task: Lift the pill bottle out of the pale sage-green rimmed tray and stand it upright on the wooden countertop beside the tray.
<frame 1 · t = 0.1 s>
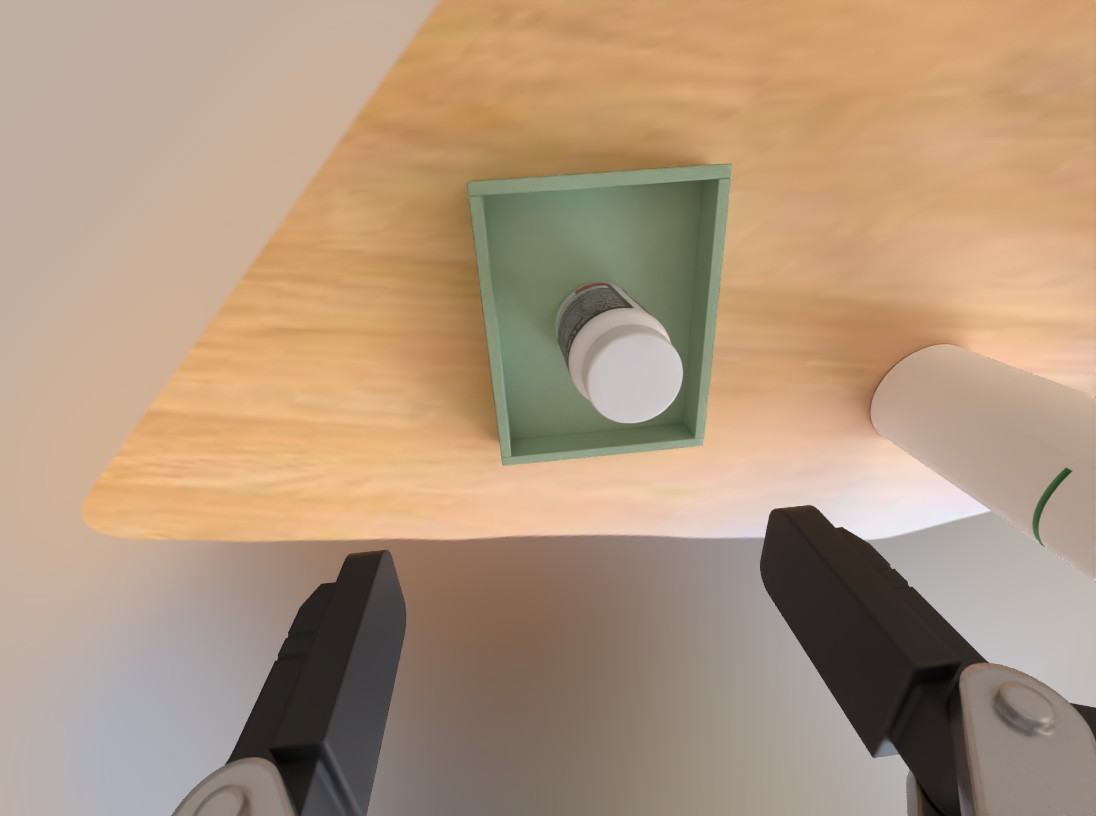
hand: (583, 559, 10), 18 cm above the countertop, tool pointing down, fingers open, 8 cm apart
tray: (594, 320, 27), on the countertop
cylindrical container: (921, 394, 31), on the countertop
pill bottle: (595, 322, 26), resting on tray
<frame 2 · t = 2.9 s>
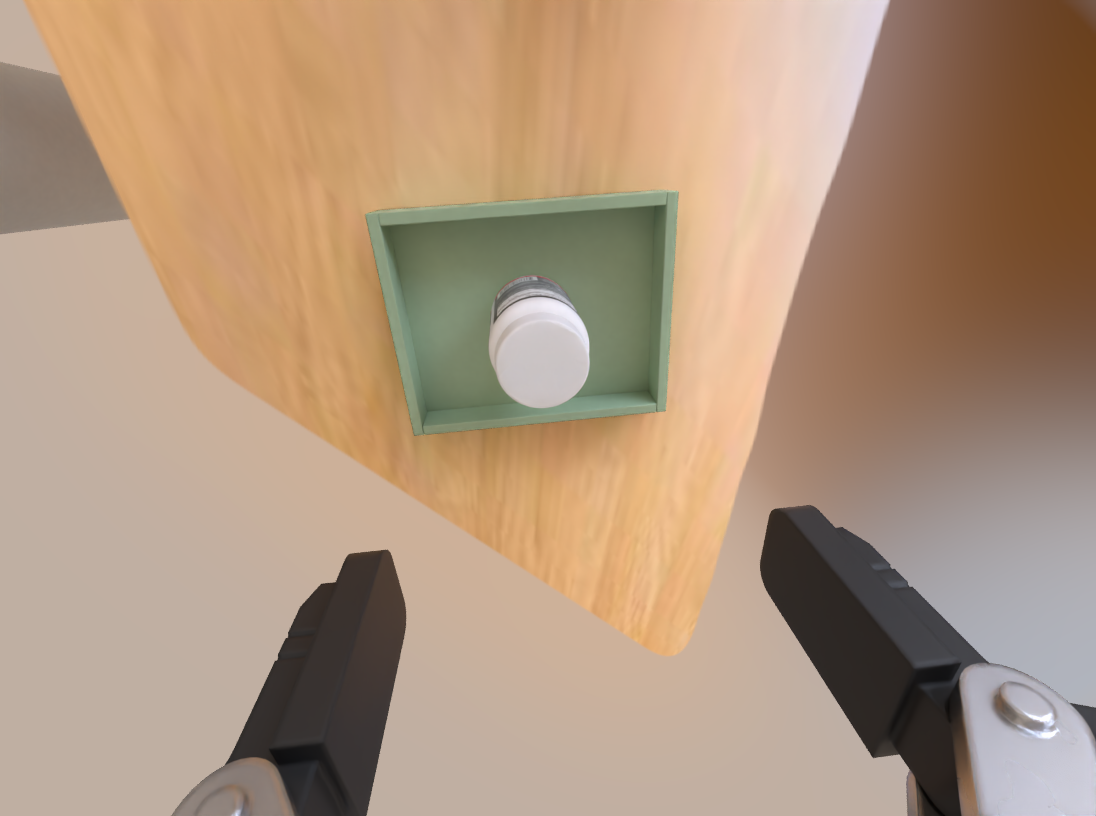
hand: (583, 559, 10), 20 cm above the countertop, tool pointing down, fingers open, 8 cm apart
tray: (531, 312, 27), on the countertop
pill bottle: (531, 314, 27), resting on tray
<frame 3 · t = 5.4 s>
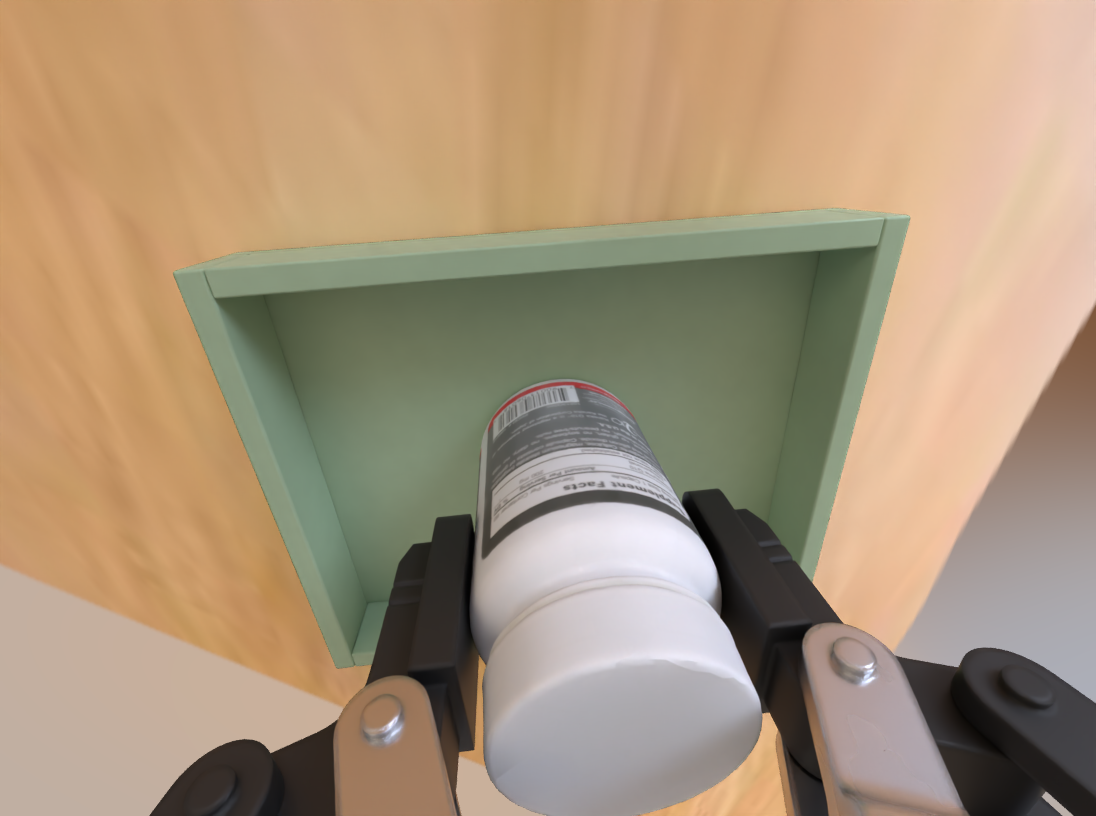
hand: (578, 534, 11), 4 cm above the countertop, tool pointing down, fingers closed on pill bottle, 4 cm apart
tray: (558, 438, 14), on the countertop
pill bottle: (559, 443, 14), resting on tray, touching gripper
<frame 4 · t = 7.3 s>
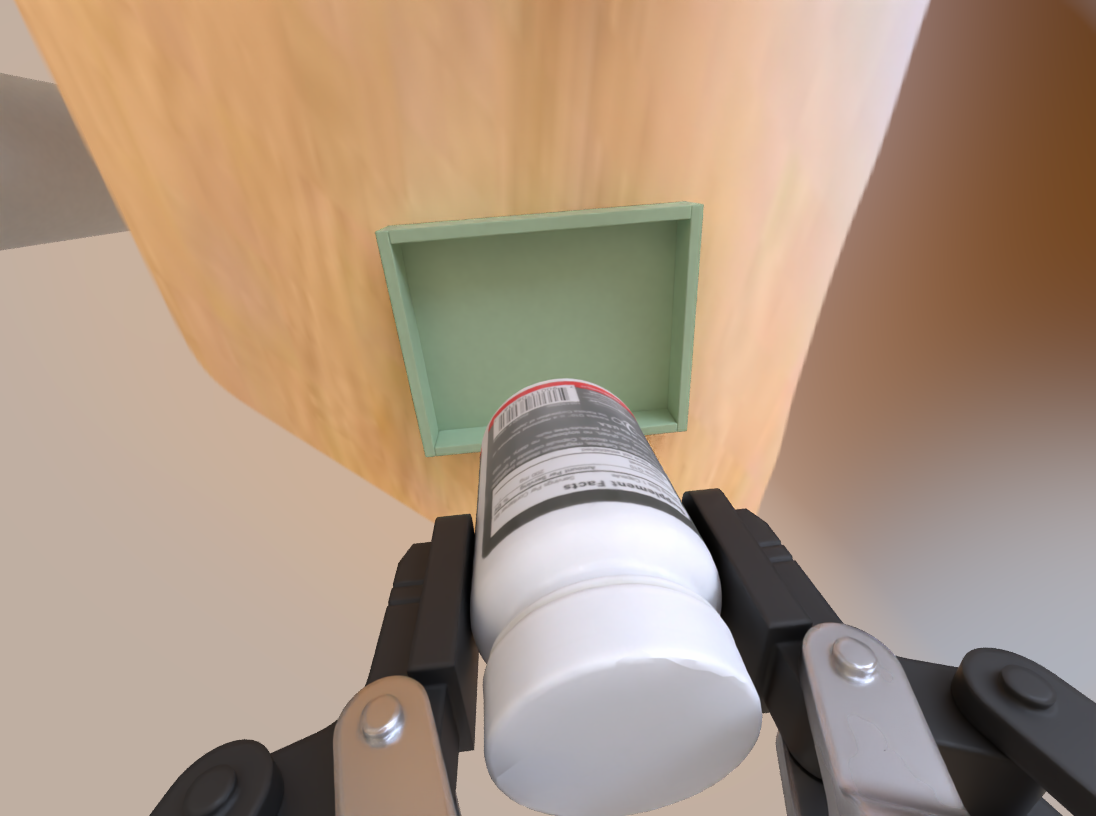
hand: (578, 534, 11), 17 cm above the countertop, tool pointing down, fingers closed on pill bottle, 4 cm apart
tray: (546, 329, 26), on the countertop
pill bottle: (559, 443, 14), point 13 cm above the countertop, touching gripper
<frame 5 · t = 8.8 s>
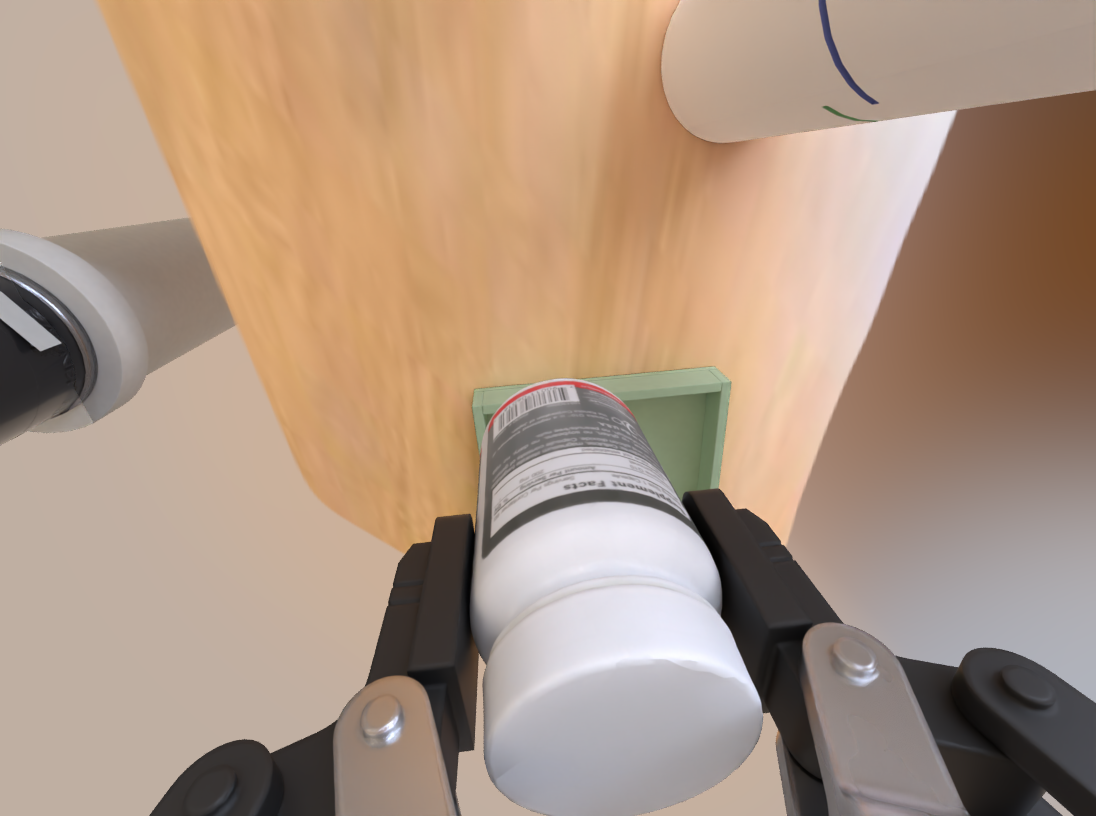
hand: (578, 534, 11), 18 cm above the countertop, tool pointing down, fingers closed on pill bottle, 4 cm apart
tray: (597, 459, 32), on the countertop
cylindrical container: (732, 58, 22), on the countertop
pill bottle: (559, 443, 14), point 14 cm above the countertop, touching gripper
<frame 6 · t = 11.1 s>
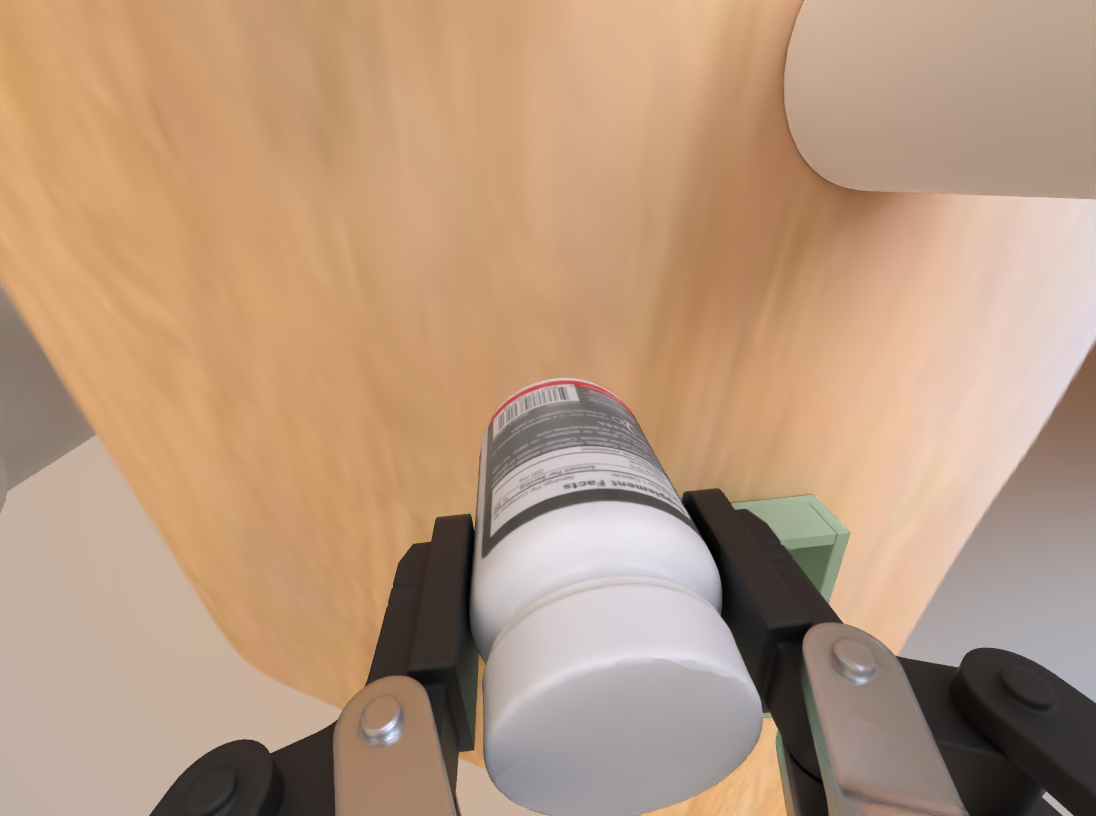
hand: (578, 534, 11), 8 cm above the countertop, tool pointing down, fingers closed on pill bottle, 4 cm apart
tray: (641, 608, 23), on the countertop
cylindrical container: (898, 57, 14), on the countertop
pill bottle: (559, 442, 14), point 4 cm above the countertop, touching gripper
when the fingers open (4 cm above the countertop, at t = 12.5 s): pill bottle stays where it is, on the countertop.
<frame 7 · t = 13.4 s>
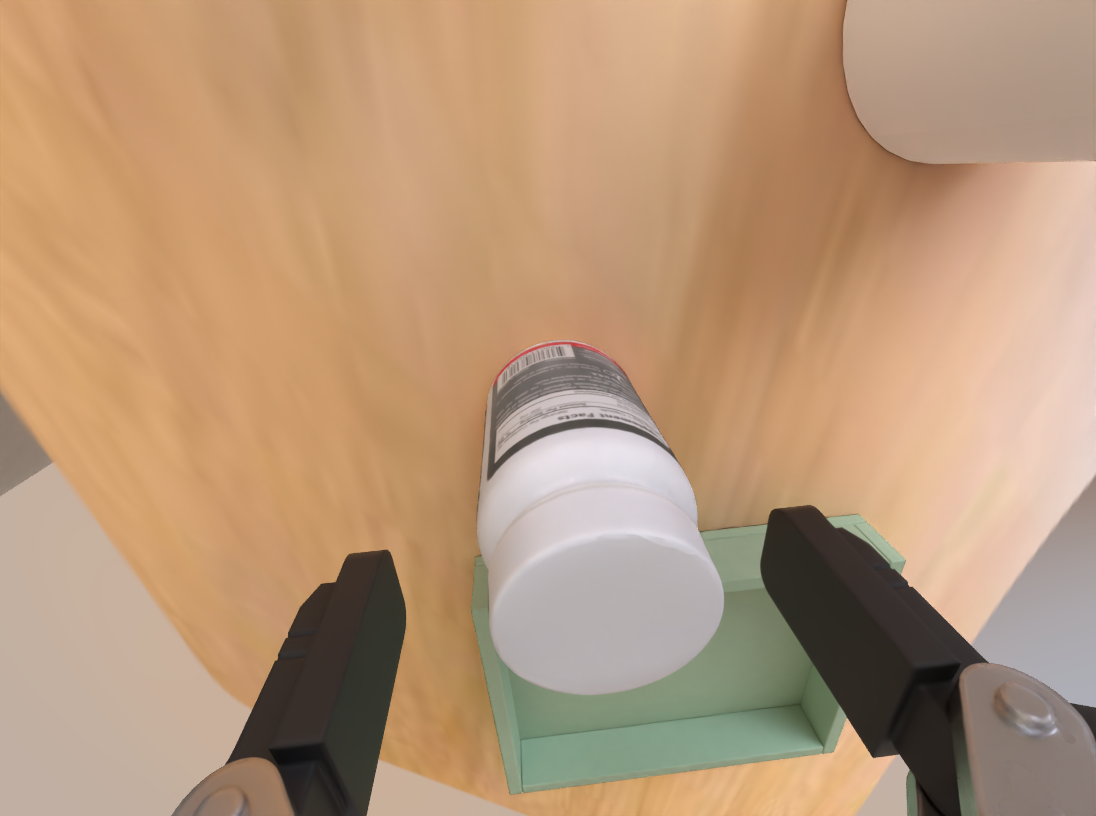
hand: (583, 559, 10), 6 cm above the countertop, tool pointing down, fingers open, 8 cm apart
tray: (663, 638, 21), on the countertop
pill bottle: (558, 402, 15), on the countertop
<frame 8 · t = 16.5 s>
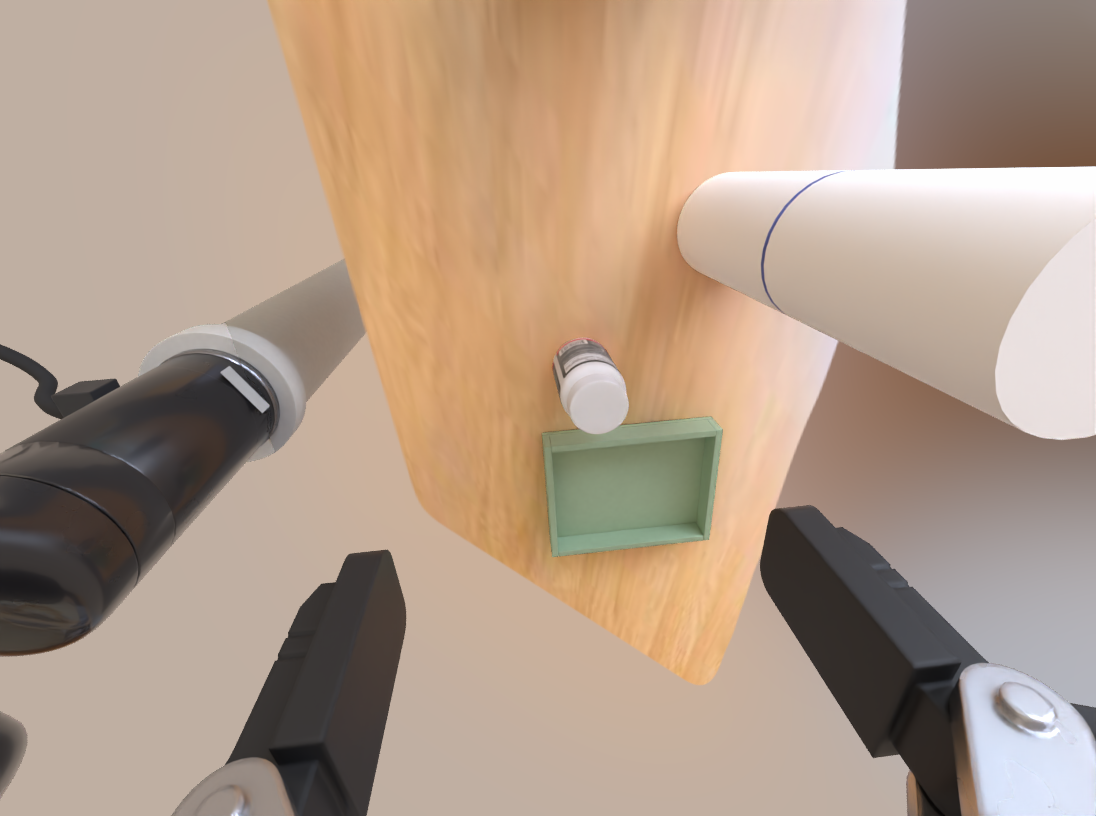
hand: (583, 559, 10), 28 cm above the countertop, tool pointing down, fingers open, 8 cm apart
tray: (626, 480, 44), on the countertop
cylindrical container: (723, 226, 35), on the countertop
pill bottle: (580, 363, 38), on the countertop
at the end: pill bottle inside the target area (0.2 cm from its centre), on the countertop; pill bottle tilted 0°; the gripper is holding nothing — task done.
